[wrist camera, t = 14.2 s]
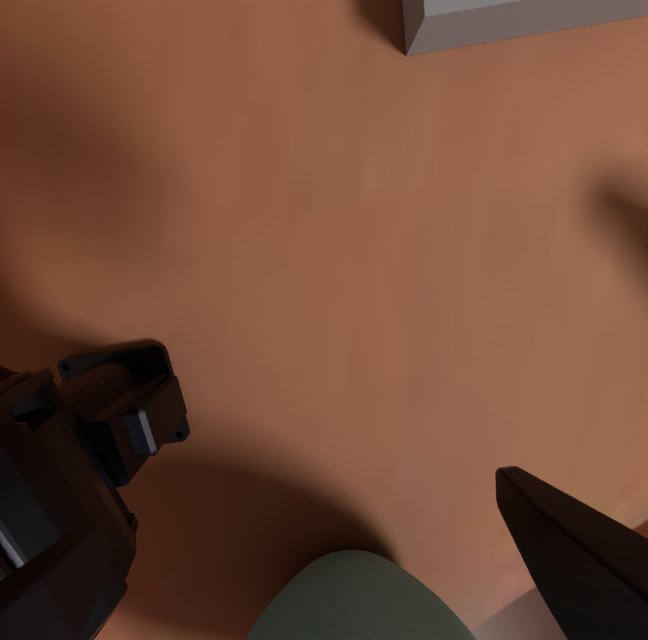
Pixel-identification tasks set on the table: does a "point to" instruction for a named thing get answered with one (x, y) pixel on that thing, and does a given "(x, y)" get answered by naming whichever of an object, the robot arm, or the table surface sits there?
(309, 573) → the teal bowl
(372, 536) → the table surface
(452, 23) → the socket block
